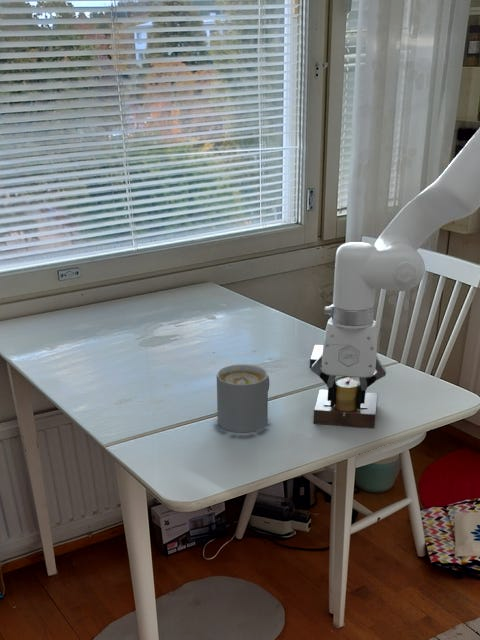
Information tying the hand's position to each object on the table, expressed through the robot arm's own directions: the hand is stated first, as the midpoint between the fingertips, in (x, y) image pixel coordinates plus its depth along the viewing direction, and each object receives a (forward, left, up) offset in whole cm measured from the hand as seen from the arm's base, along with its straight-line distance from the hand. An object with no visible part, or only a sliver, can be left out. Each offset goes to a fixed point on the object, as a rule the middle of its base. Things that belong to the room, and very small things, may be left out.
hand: (345, 404), depth 154 cm
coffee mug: (+19, +2, -4) cm, 20 cm away
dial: (0, 0, 0) cm, 1 cm away
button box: (+4, -30, -4) cm, 30 cm away
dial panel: (0, -3, -4) cm, 4 cm away
